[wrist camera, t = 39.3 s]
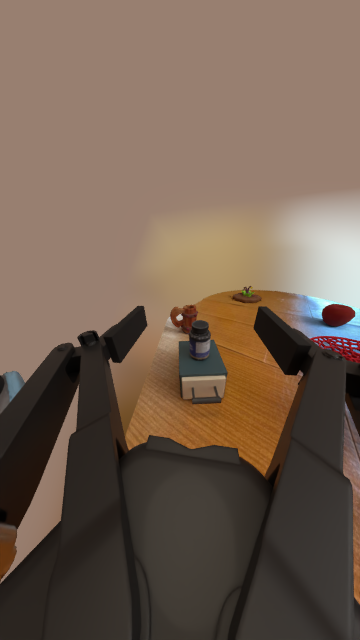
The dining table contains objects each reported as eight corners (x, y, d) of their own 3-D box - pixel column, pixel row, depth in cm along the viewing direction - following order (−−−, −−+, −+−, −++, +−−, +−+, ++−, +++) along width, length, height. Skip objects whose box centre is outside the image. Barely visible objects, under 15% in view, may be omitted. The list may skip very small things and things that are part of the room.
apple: (312, 320, 76) (320, 301, 71) (331, 319, 76) (341, 300, 70) (331, 330, 66) (343, 309, 61) (353, 329, 66) (367, 308, 61)
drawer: (228, 413, 34) (232, 394, 31) (183, 415, 34) (182, 396, 31) (212, 362, 50) (213, 345, 47) (181, 364, 50) (180, 347, 47)
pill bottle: (188, 348, 44) (188, 319, 39) (206, 347, 44) (208, 318, 39) (190, 362, 39) (190, 330, 34) (211, 361, 39) (213, 329, 34)
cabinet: (223, 395, 40) (227, 372, 35) (181, 397, 40) (179, 374, 35) (212, 359, 53) (213, 339, 48) (180, 361, 53) (178, 341, 48)
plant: (246, 304, 102) (249, 290, 97) (229, 297, 118) (230, 285, 113) (265, 300, 108) (268, 286, 103) (246, 294, 125) (248, 282, 120)
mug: (195, 326, 77) (195, 301, 70) (200, 333, 70) (201, 306, 63) (170, 330, 74) (168, 305, 67) (173, 338, 67) (171, 311, 60)
